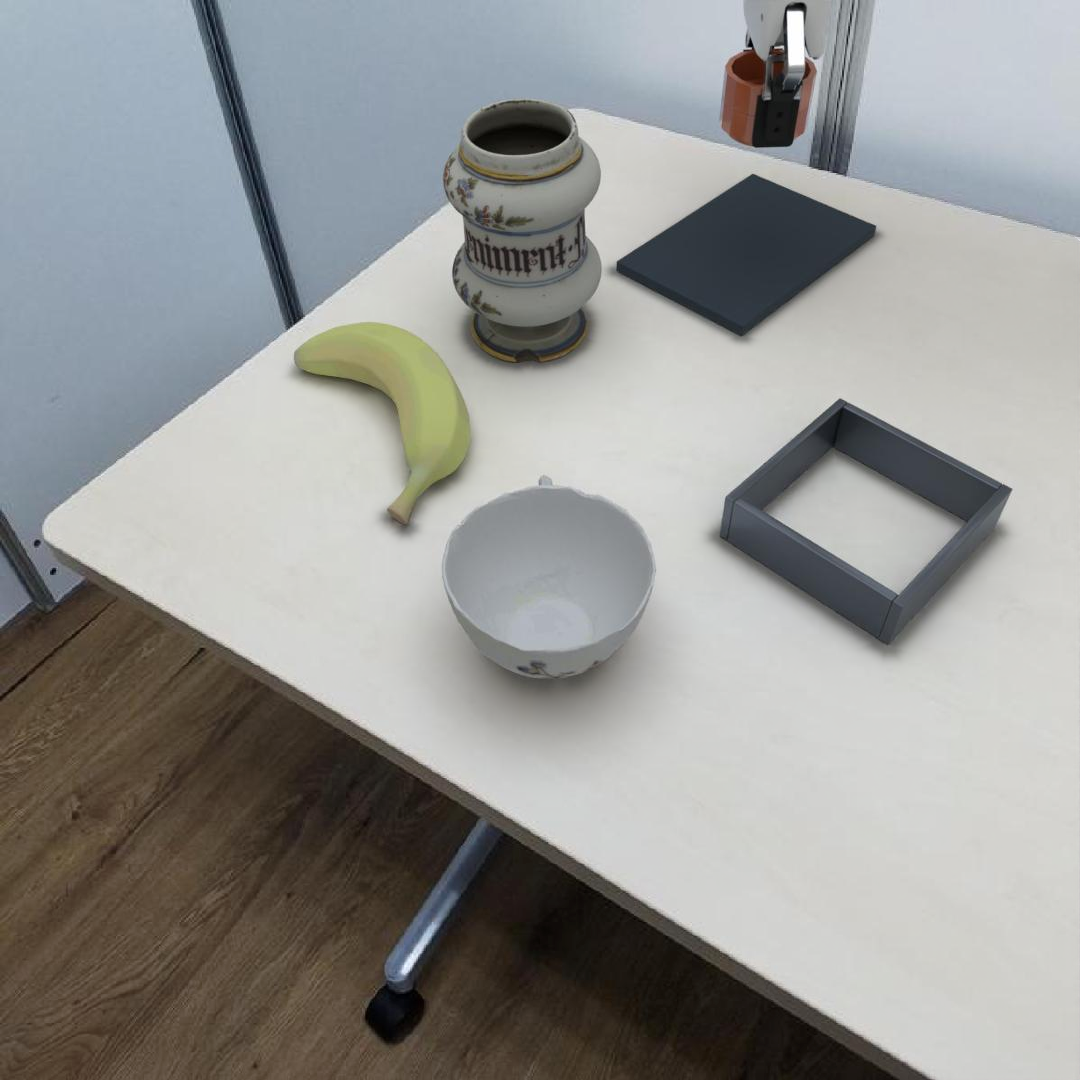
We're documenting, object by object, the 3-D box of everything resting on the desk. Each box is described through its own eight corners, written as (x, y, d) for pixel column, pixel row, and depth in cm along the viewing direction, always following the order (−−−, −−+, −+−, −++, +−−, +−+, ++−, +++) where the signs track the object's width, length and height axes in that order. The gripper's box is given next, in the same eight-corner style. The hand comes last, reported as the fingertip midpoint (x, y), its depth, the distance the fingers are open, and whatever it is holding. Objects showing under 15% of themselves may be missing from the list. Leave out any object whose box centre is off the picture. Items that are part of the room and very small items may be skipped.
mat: (751, 182, 100) (752, 173, 99) (874, 235, 93) (876, 225, 93) (616, 270, 91) (616, 261, 90) (741, 336, 84) (742, 326, 84)
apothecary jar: (462, 379, 82) (437, 173, 68) (456, 291, 90) (433, 90, 76) (610, 366, 82) (615, 159, 69) (591, 279, 90) (592, 78, 77)
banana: (439, 276, 79) (461, 479, 68) (463, 324, 84) (487, 521, 72) (280, 327, 81) (276, 531, 70) (311, 371, 86) (313, 570, 75)
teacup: (657, 721, 61) (665, 644, 55) (450, 727, 61) (435, 651, 55) (638, 532, 71) (643, 450, 65) (459, 538, 71) (448, 456, 65)
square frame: (829, 437, 76) (840, 397, 73) (994, 528, 70) (1013, 488, 67) (719, 536, 70) (724, 496, 67) (887, 645, 64) (902, 607, 61)
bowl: (753, 100, 86) (761, 40, 83) (822, 127, 83) (834, 65, 79) (701, 130, 83) (707, 70, 80) (771, 160, 80) (781, 97, 76)
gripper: (884, -86, 64) (830, 175, 77) (830, -170, 75) (791, 71, 88) (764, -82, 64) (731, 178, 77) (728, -166, 75) (705, 74, 89)
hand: (764, 119), depth 83 cm, fingers closed on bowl, 7 cm apart
